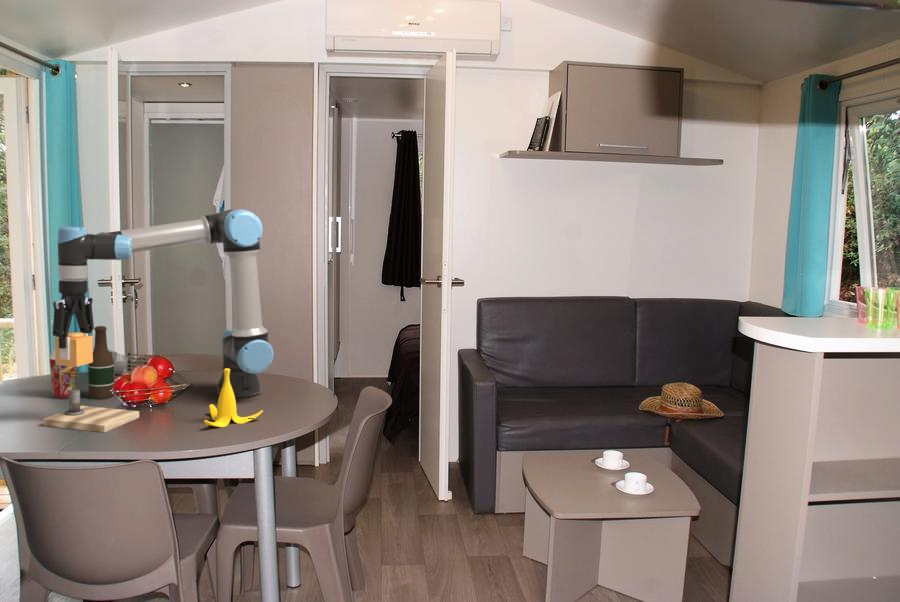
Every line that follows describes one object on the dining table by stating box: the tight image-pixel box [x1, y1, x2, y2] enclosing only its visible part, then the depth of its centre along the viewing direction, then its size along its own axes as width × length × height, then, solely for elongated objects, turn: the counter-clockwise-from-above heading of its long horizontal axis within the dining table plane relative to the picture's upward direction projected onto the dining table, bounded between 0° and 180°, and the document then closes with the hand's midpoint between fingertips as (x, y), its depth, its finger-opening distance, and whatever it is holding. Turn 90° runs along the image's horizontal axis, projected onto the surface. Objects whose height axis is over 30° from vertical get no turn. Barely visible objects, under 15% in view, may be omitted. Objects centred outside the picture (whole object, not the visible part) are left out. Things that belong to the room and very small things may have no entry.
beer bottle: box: [87, 325, 115, 400], centre depth 240 cm, size 8×8×24 cm
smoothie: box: [48, 349, 78, 400], centre depth 238 cm, size 8×8×20 cm
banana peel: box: [203, 368, 264, 428], centre depth 215 cm, size 16×19×17 cm
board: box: [42, 388, 140, 433], centre depth 212 cm, size 20×16×9 cm
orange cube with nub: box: [54, 331, 94, 368], centre depth 211 cm, size 7×7×9 cm
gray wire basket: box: [108, 349, 159, 377], centre depth 271 cm, size 27×11×10 cm, turn 86°
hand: (74, 356), depth 211 cm, fingers closed on orange cube with nub, 7 cm apart
